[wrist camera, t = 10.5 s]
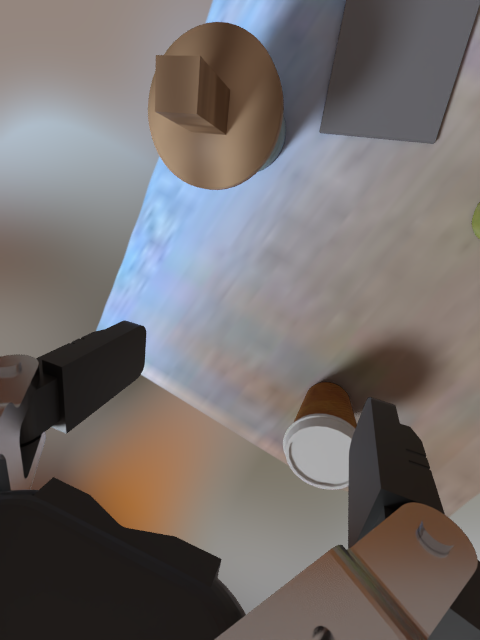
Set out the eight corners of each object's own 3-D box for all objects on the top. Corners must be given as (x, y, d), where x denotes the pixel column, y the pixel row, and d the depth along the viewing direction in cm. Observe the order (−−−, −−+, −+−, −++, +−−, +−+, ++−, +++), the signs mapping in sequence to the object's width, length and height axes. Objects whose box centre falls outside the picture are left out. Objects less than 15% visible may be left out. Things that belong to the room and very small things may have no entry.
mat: (480, -3, 29) (483, -7, 28) (433, 143, 33) (434, 142, 32) (347, -3, 31) (347, -7, 31) (319, 132, 36) (319, 131, 35)
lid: (295, 29, 24) (278, -42, 17) (271, 196, 28) (250, 191, 21) (156, 31, 27) (97, -29, 20) (153, 182, 31) (104, 174, 24)
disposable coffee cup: (348, 364, 43) (350, 414, 32) (371, 421, 45) (381, 488, 34) (285, 381, 47) (268, 431, 36) (308, 433, 48) (299, 497, 37)
